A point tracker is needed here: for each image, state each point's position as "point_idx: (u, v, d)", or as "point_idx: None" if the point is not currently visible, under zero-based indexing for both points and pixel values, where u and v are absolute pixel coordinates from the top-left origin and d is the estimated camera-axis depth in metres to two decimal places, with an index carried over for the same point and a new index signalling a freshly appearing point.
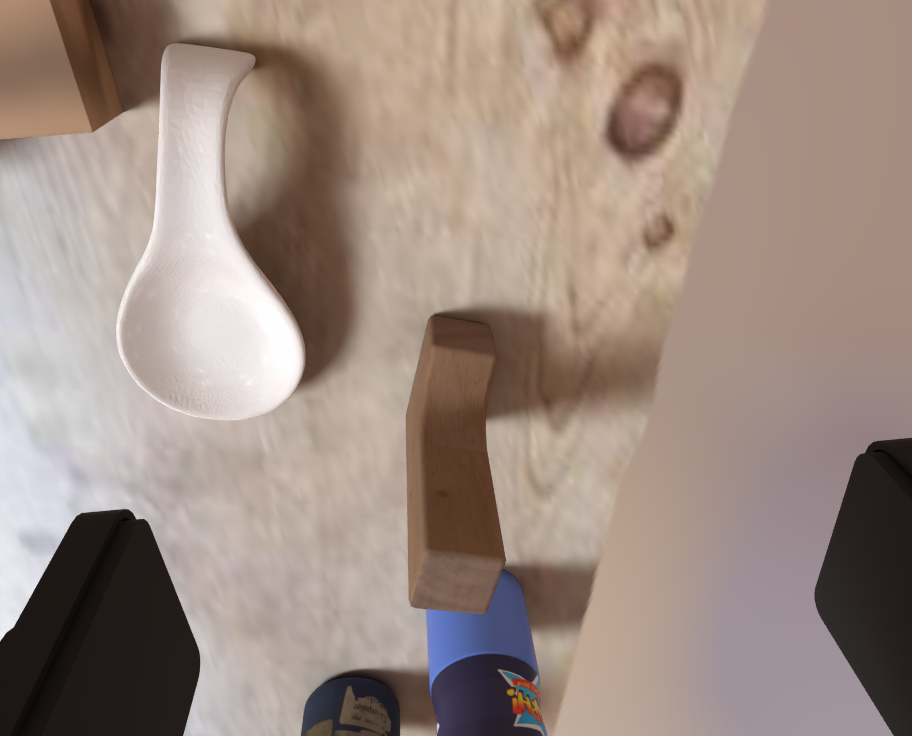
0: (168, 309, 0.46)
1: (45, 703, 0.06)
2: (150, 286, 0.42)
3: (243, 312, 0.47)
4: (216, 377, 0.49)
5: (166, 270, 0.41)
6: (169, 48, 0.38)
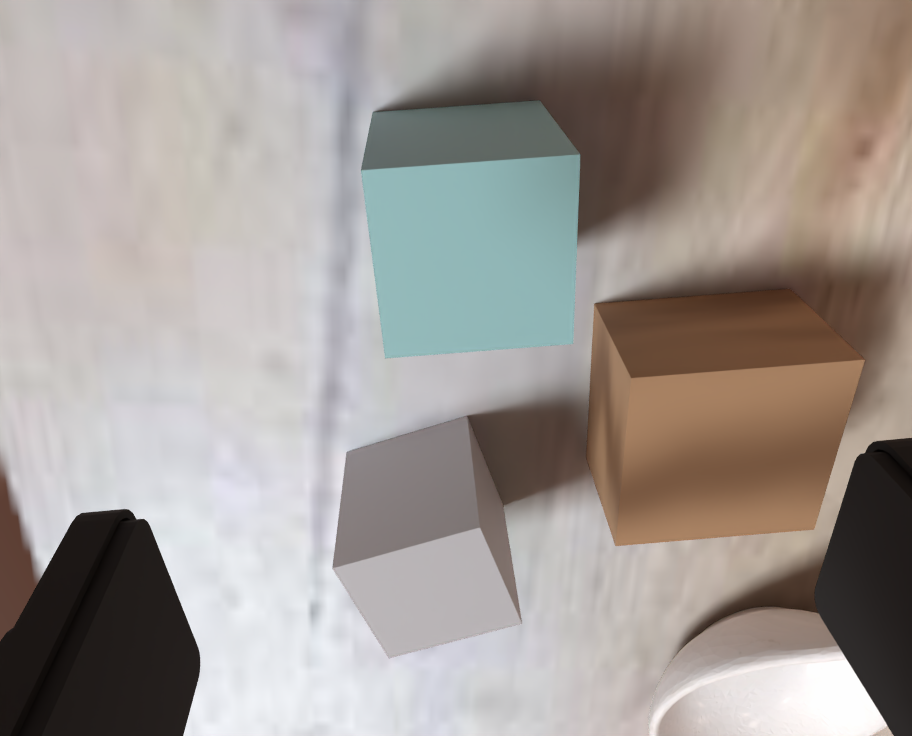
0: None
1: (45, 703, 0.06)
2: None
3: None
4: (714, 713, 0.37)
5: None
6: None
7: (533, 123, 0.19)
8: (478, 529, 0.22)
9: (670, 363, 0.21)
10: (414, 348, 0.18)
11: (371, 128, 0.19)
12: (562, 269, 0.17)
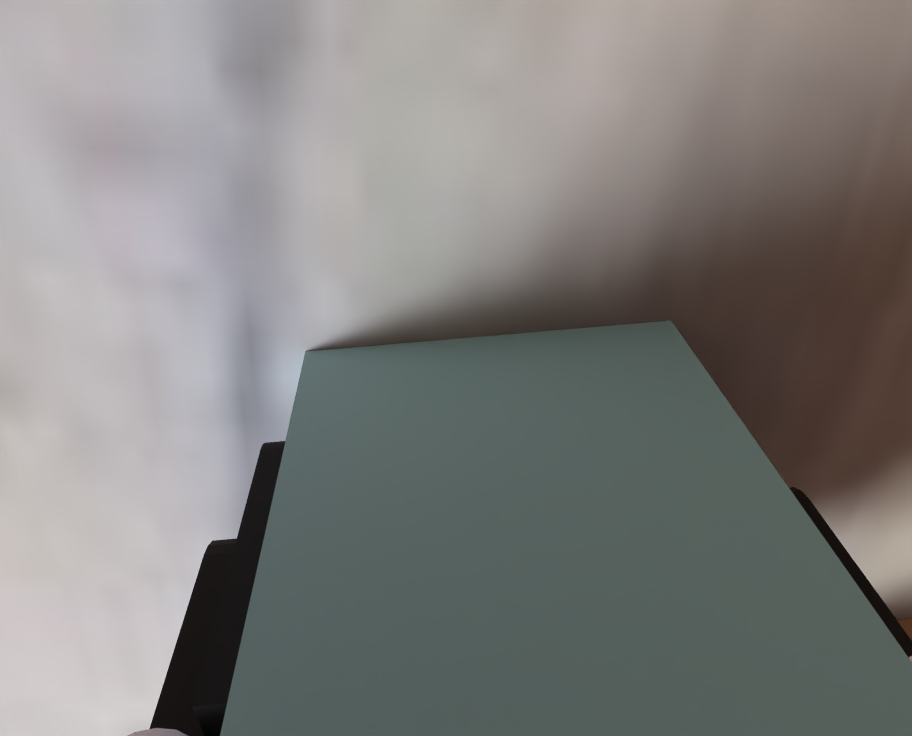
0: None
1: None
2: None
3: None
4: None
5: None
6: None
7: (703, 452, 0.07)
8: None
9: None
10: None
11: (289, 446, 0.08)
12: None
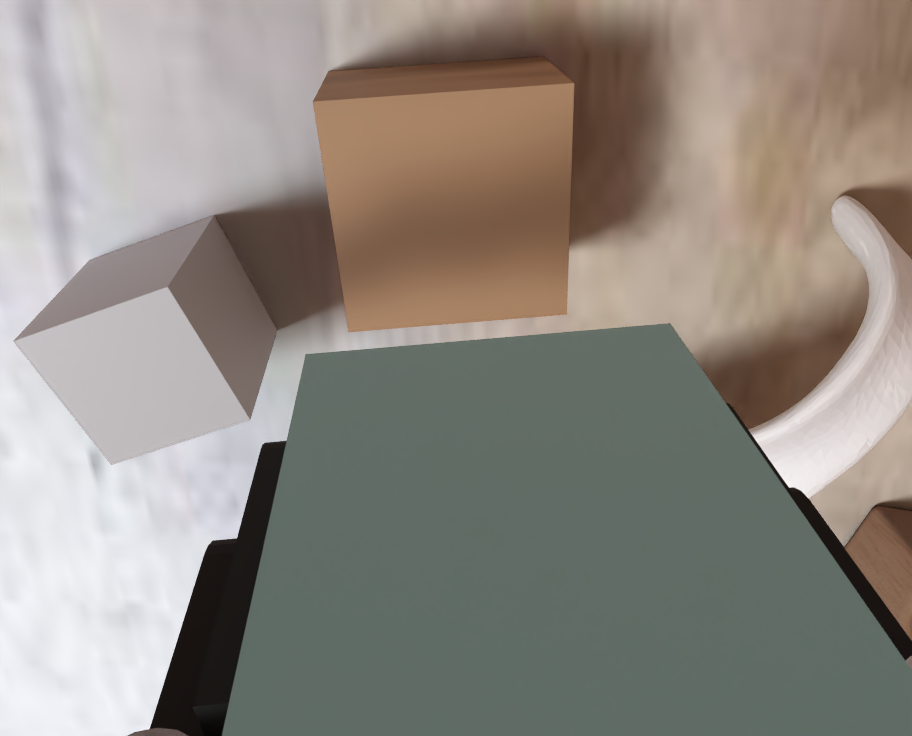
0: None
1: None
2: None
3: None
4: None
5: None
6: (869, 212, 0.25)
7: (702, 456, 0.07)
8: (166, 289, 0.20)
9: (365, 93, 0.19)
10: None
11: (289, 450, 0.08)
12: None
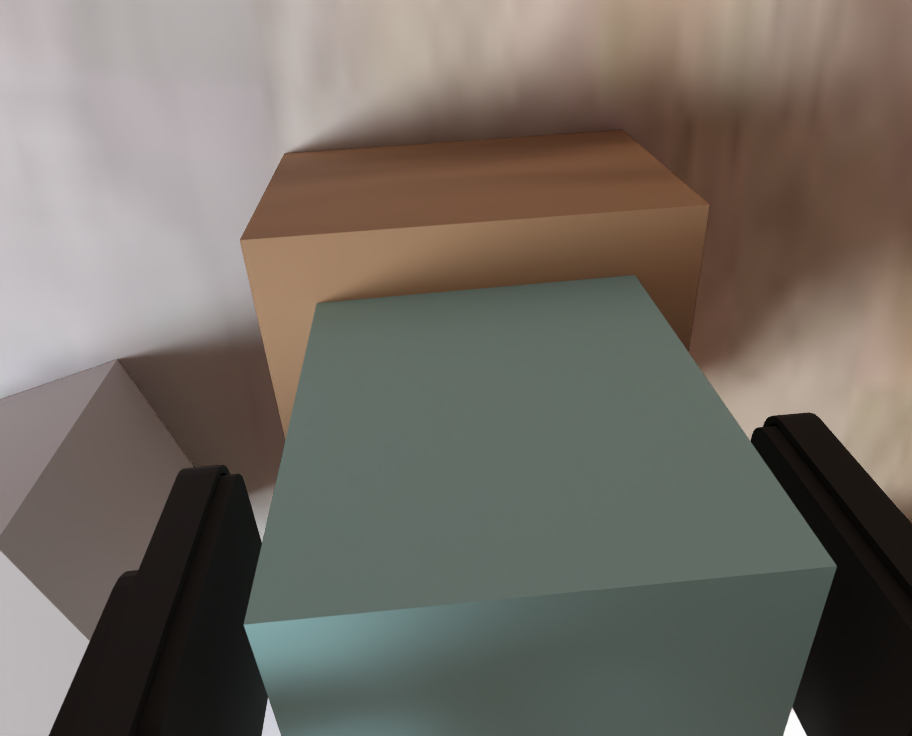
0: None
1: (180, 629, 0.07)
2: None
3: None
4: None
5: None
6: None
7: (651, 372, 0.09)
8: None
9: (336, 219, 0.11)
10: None
11: (304, 373, 0.09)
12: None
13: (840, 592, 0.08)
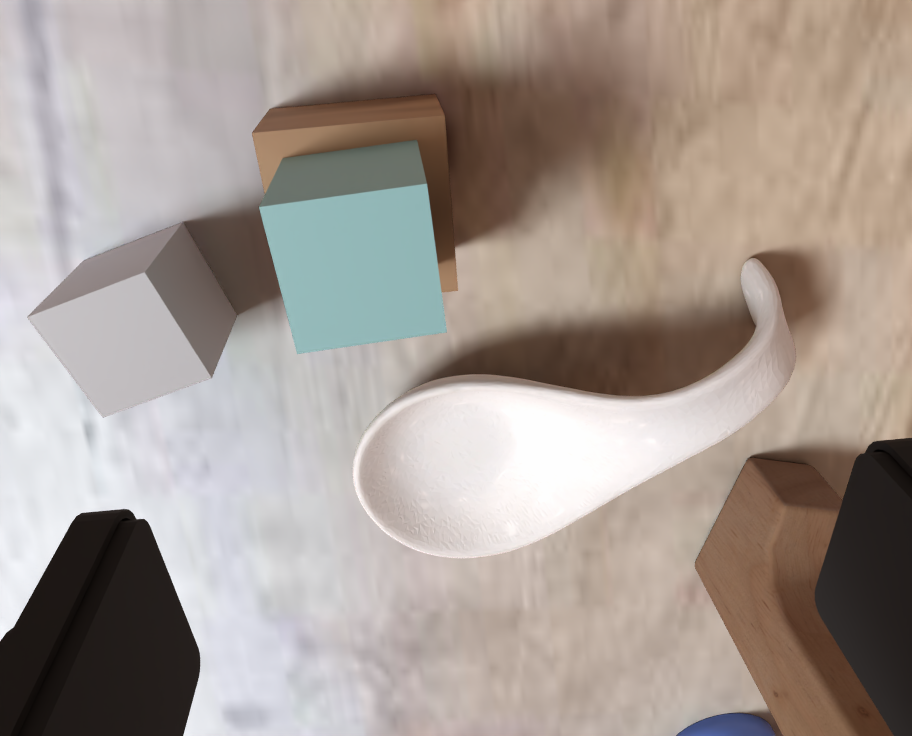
0: (464, 397, 0.36)
1: (45, 703, 0.06)
2: None
3: (501, 453, 0.39)
4: (405, 474, 0.38)
5: (555, 404, 0.33)
6: (769, 273, 0.34)
7: (403, 160, 0.24)
8: (143, 274, 0.26)
9: (291, 126, 0.26)
10: (319, 344, 0.23)
11: (277, 172, 0.24)
12: (428, 273, 0.22)
13: None
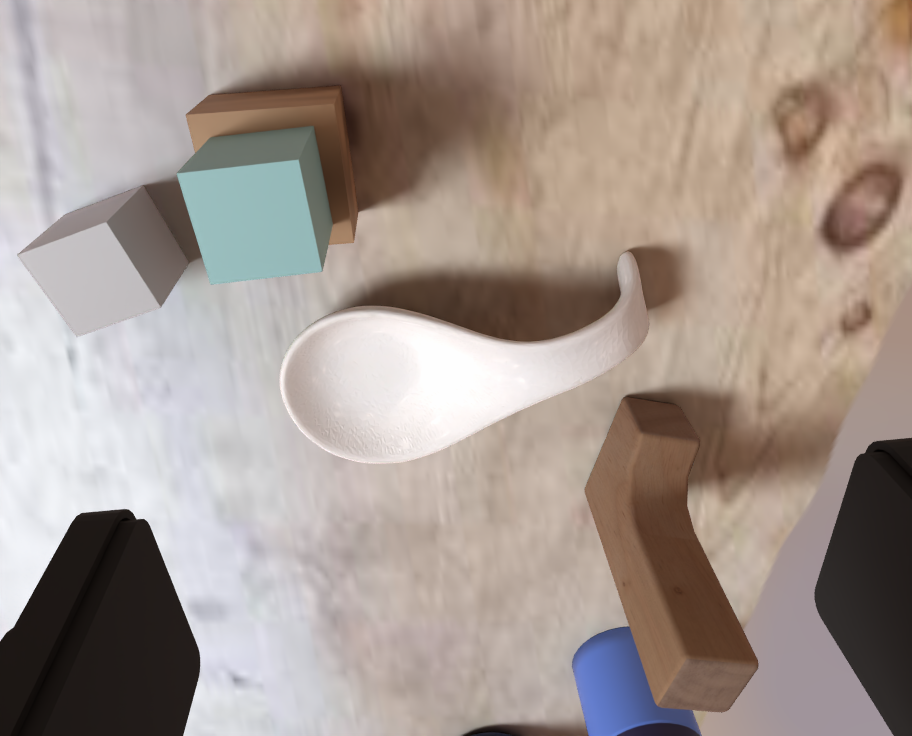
0: (382, 326, 0.44)
1: (45, 703, 0.06)
2: (422, 326, 0.41)
3: (407, 380, 0.47)
4: (324, 385, 0.46)
5: (452, 340, 0.41)
6: None
7: (293, 141, 0.31)
8: (105, 223, 0.34)
9: (217, 109, 0.34)
10: (226, 277, 0.31)
11: (200, 148, 0.32)
12: (304, 226, 0.30)
13: None
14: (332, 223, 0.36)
